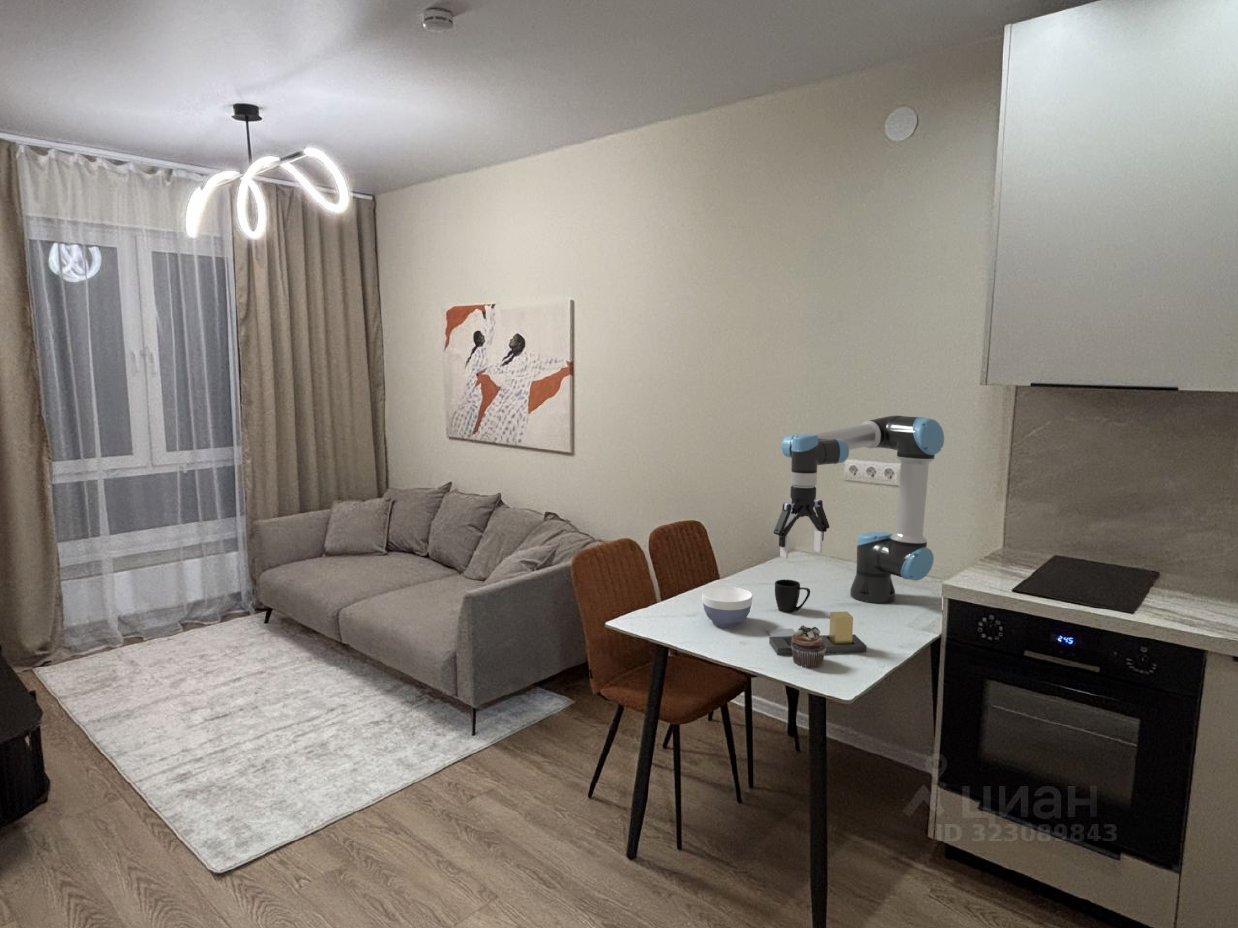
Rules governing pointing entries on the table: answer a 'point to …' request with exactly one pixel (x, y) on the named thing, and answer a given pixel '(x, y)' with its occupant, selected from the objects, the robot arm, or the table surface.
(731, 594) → the bowl
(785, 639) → the dark grey peg board
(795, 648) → the cupcake
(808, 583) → the table surface
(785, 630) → the pad
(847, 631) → the tan wooden peg
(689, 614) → the table surface
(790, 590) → the mug
